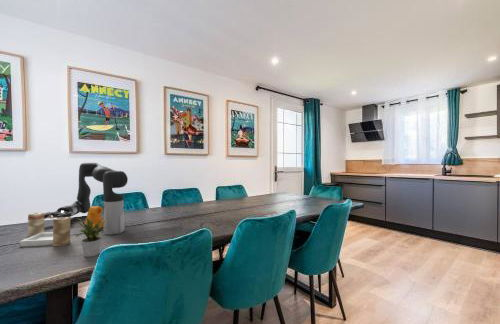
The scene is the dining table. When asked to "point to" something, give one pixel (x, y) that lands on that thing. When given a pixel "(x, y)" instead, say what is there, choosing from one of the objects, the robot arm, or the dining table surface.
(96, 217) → the bracket
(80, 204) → the robot arm
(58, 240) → the oak post
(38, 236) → the tray
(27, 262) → the dining table surface
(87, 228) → the house plant
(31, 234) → the maple post
